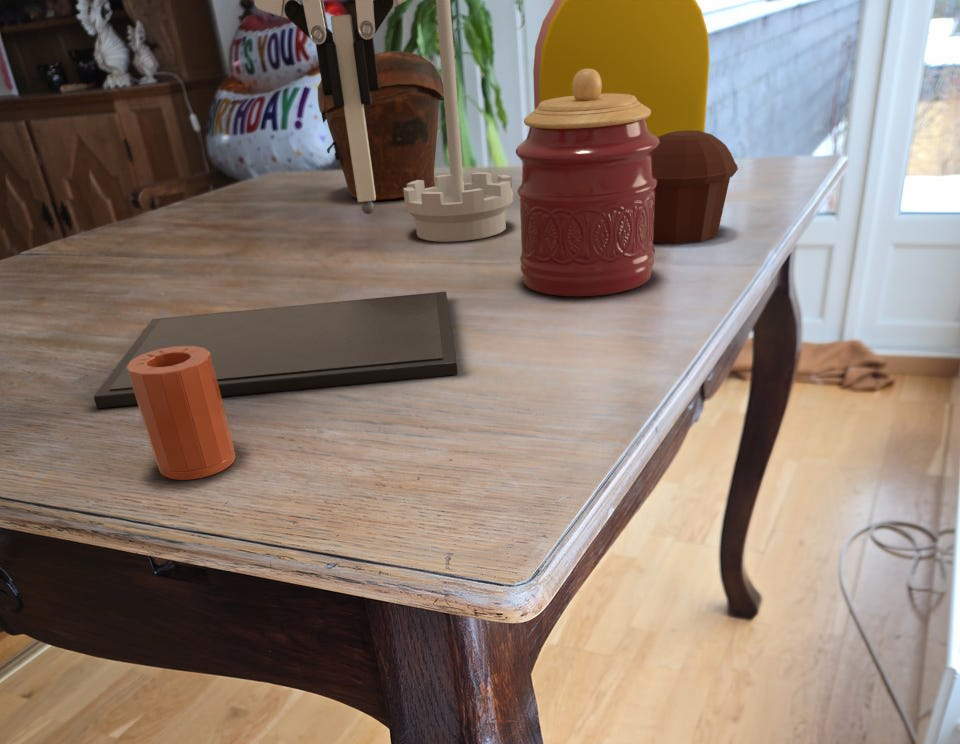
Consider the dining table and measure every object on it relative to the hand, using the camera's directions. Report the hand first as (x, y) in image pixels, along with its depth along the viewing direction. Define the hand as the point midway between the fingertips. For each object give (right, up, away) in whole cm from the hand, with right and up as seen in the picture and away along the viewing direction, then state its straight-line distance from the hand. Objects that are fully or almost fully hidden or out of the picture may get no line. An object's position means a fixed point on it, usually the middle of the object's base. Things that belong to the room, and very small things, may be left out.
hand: (353, 103), depth 67 cm
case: (-4, +27, +67) cm, 72 cm away
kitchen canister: (+20, -5, +21) cm, 30 cm away
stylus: (+1, -6, +4) cm, 8 cm away
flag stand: (+7, +10, +43) cm, 45 cm away
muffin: (+32, +5, +34) cm, 47 cm away
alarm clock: (+28, +21, +55) cm, 65 cm away
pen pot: (-9, -28, -7) cm, 31 cm away
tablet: (-7, -15, +10) cm, 20 cm away
